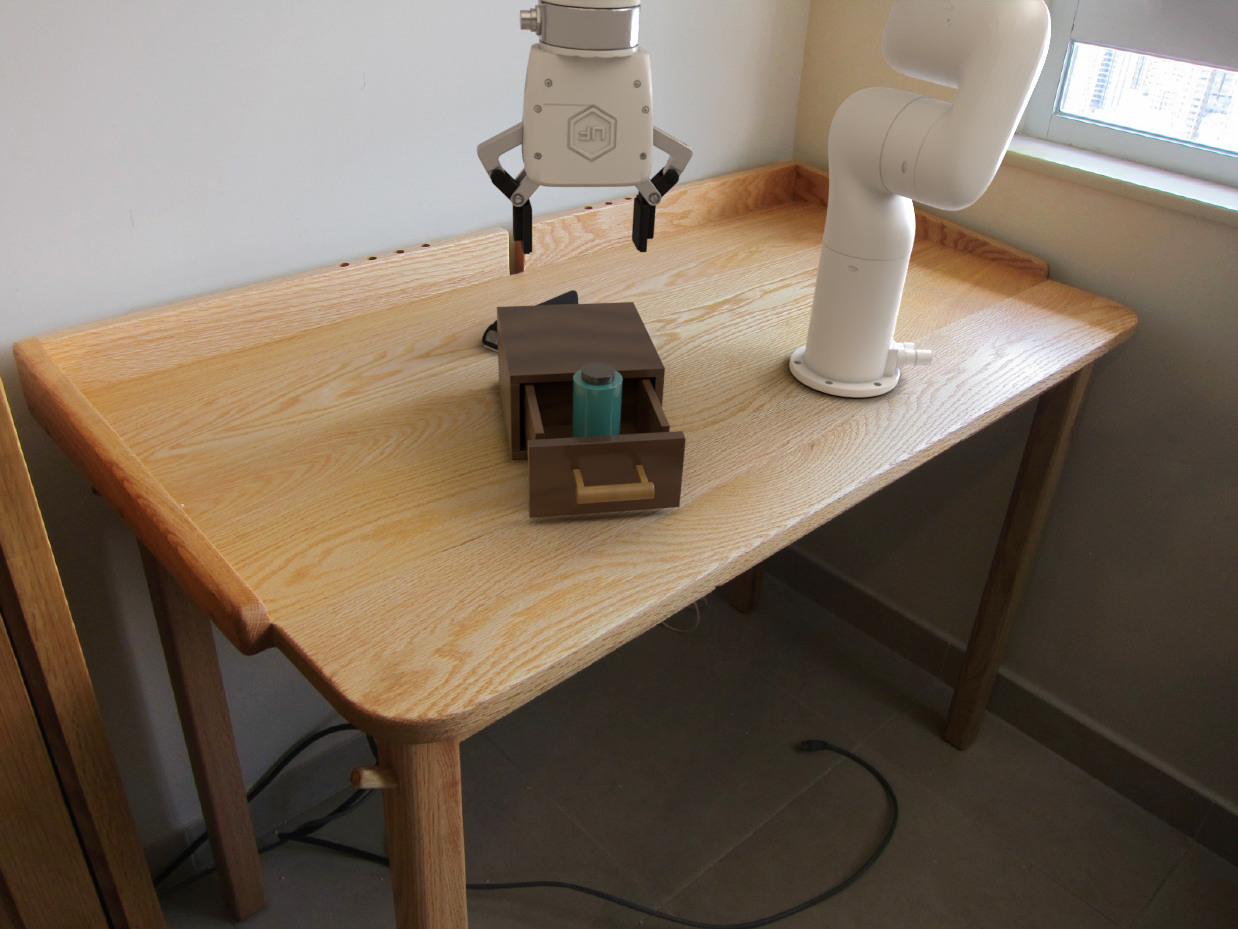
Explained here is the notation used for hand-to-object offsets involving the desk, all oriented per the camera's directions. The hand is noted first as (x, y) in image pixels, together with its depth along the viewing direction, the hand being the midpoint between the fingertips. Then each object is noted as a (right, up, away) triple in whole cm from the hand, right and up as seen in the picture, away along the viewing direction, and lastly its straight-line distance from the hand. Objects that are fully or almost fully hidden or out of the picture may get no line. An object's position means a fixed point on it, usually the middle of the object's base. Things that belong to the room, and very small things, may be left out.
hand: (583, 247), depth 83 cm
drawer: (+1, -20, +9) cm, 22 cm away
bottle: (+1, -18, +9) cm, 21 cm away
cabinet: (-2, -13, +21) cm, 25 cm away
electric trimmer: (-8, -2, +39) cm, 39 cm away
